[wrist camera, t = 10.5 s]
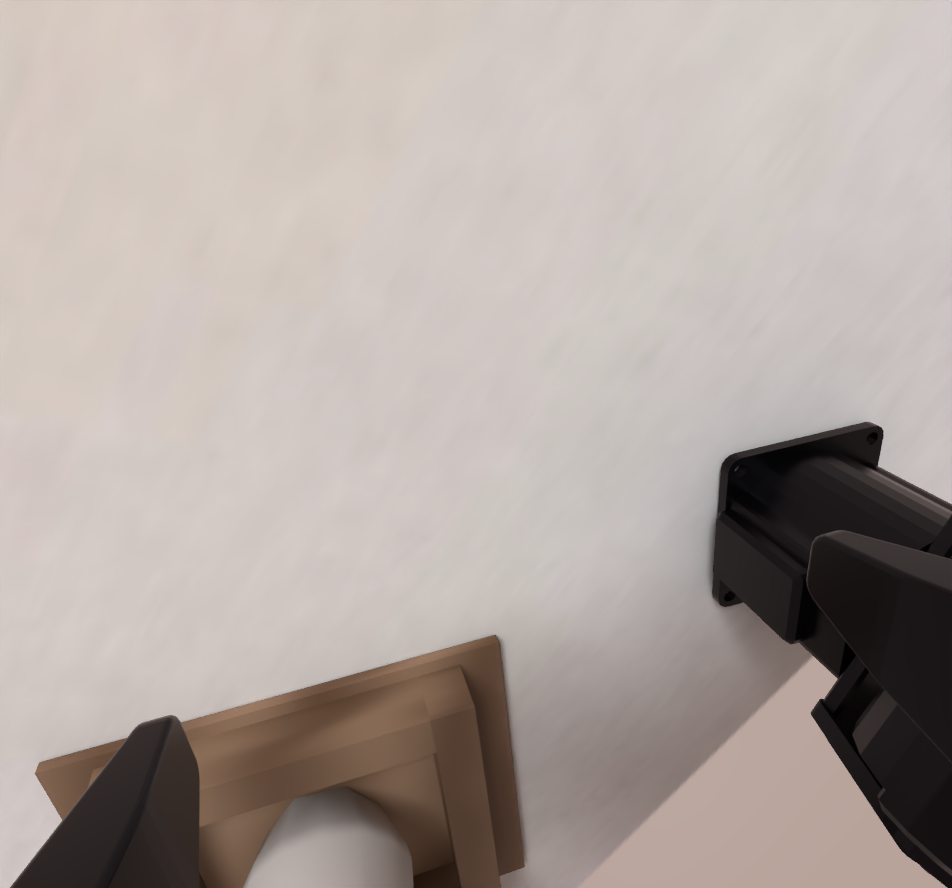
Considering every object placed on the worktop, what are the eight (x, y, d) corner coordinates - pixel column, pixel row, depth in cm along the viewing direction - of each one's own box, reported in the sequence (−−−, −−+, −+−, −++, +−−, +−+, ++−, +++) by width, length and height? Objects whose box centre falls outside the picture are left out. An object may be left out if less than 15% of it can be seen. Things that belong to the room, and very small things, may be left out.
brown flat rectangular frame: (495, 634, 23) (517, 682, 21) (521, 857, 29) (540, 913, 27) (39, 762, 20) (10, 834, 18) (167, 984, 26) (157, 1058, 24)
